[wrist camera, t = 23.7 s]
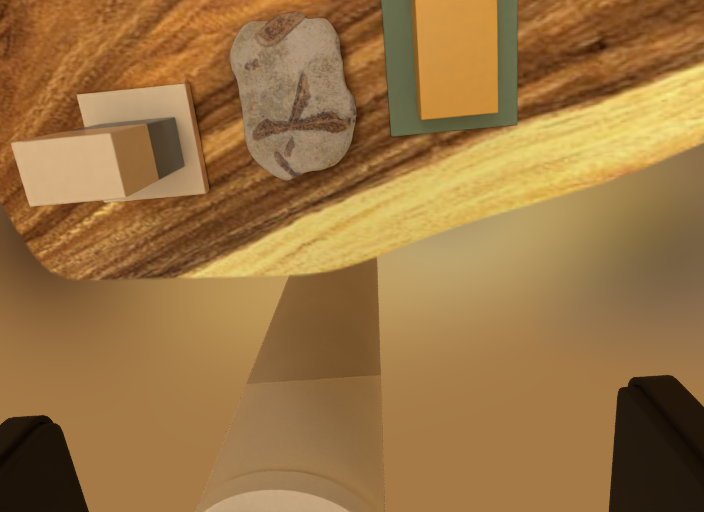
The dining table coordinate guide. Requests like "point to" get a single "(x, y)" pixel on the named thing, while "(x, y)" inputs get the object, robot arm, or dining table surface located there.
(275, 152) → the stone
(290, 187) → the dining table surface
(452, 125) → the mat
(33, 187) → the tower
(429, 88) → the bar
